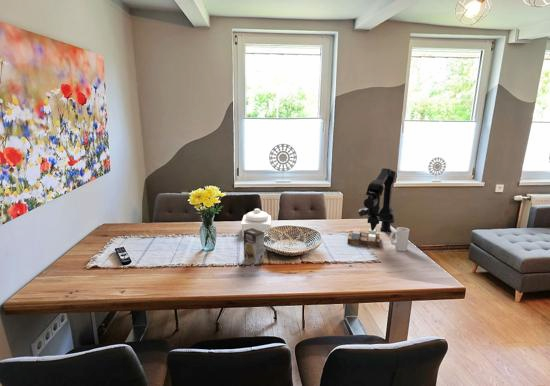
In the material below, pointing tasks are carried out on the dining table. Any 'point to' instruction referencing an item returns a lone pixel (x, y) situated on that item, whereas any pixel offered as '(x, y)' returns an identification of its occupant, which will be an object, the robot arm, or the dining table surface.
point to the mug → (400, 238)
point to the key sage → (372, 231)
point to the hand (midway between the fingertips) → (372, 230)
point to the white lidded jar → (256, 221)
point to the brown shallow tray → (364, 240)
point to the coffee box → (253, 245)
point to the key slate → (356, 235)
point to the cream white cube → (371, 237)
